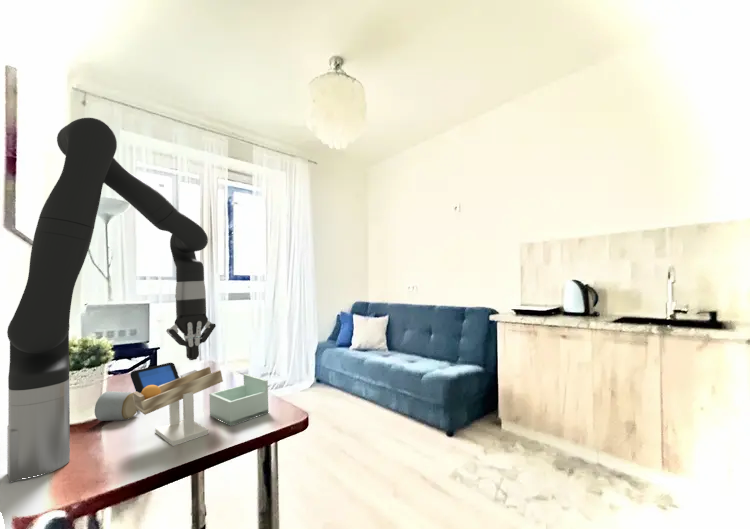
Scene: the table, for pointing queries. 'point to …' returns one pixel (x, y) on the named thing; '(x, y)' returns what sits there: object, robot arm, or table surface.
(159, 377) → the tablet display
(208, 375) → the chute lever
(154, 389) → the ball
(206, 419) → the table surface
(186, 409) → the chute stand
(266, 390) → the bin
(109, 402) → the grey canister
